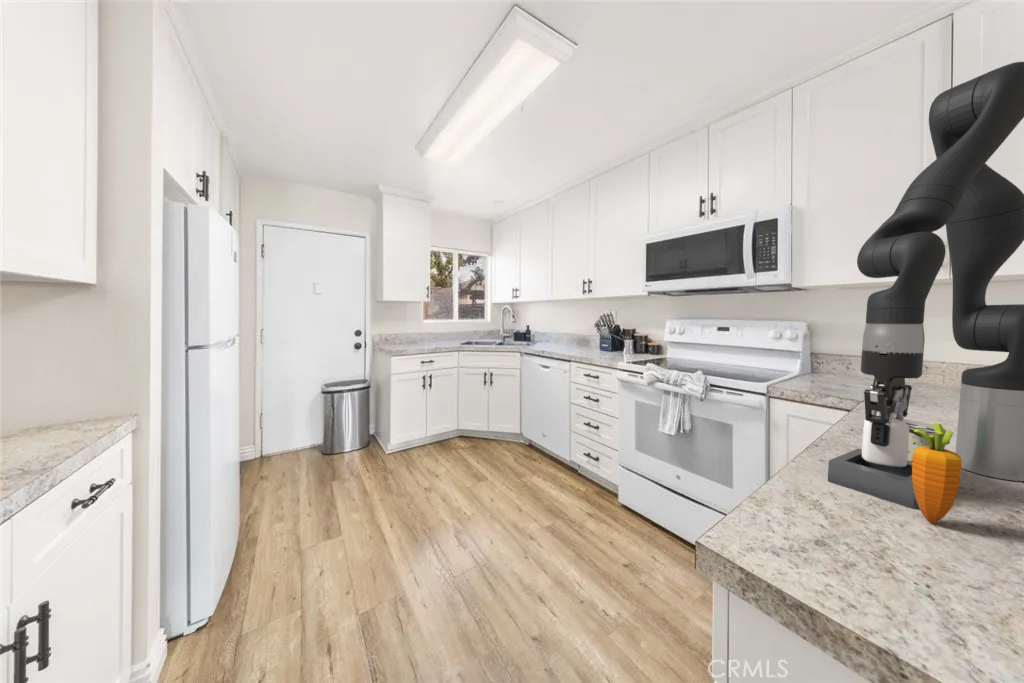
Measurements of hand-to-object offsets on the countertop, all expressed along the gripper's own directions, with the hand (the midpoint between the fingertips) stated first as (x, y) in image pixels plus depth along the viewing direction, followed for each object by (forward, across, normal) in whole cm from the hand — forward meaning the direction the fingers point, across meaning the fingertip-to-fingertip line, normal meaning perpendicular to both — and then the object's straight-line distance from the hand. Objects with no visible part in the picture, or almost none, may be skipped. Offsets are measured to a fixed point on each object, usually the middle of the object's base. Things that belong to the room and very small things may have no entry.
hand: (884, 442), depth 64 cm
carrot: (+8, +10, +8) cm, 15 cm away
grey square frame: (+8, 0, 0) cm, 8 cm away
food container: (+8, -13, +1) cm, 15 cm away
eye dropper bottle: (+4, 0, 0) cm, 4 cm away
